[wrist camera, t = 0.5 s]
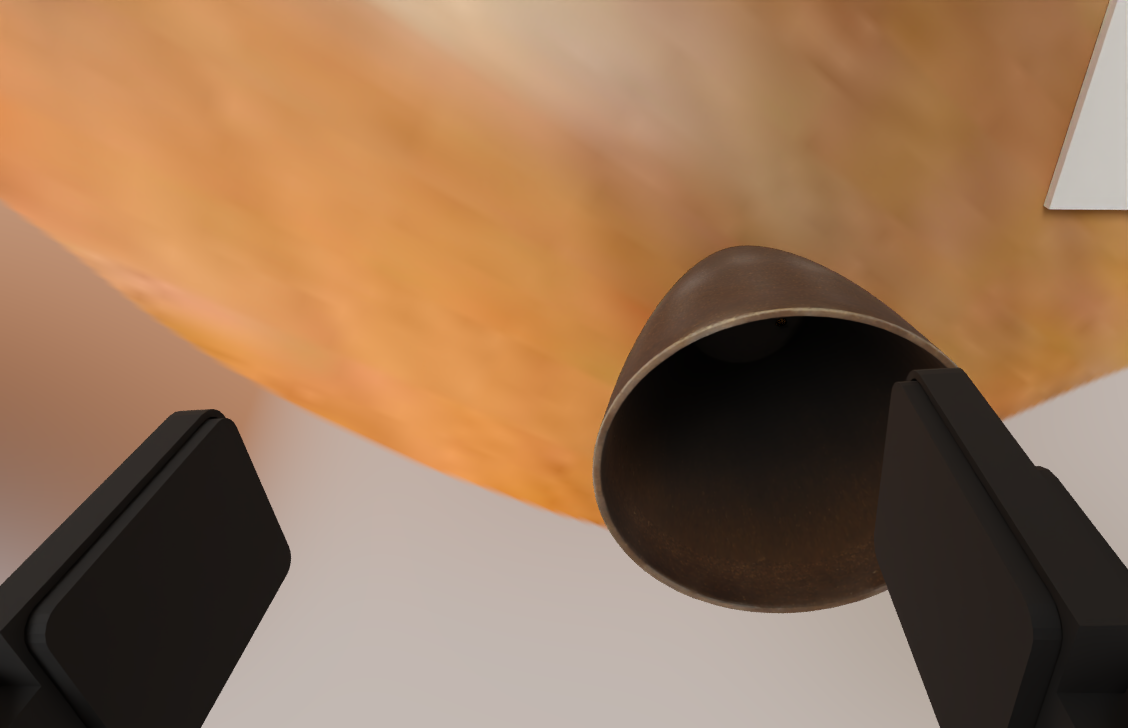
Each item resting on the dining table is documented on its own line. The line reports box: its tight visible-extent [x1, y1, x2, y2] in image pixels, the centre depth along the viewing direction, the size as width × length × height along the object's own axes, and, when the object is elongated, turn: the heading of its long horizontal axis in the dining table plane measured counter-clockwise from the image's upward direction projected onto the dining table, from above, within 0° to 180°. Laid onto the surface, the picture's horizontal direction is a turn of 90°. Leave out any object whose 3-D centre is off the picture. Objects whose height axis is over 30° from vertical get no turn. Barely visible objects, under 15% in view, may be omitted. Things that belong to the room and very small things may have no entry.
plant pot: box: [593, 246, 958, 613], centre depth 34 cm, size 15×15×16 cm
